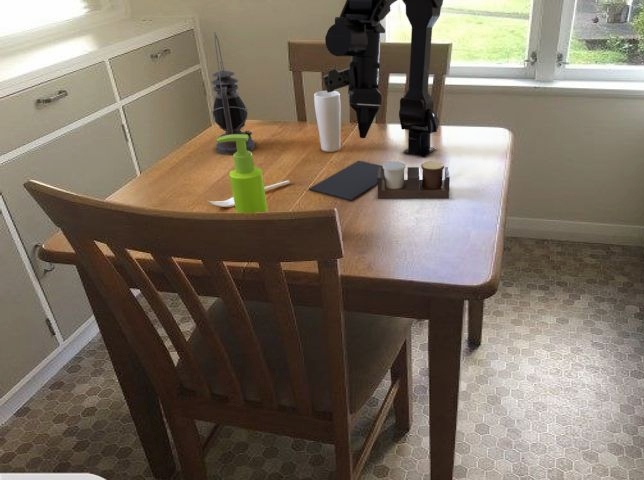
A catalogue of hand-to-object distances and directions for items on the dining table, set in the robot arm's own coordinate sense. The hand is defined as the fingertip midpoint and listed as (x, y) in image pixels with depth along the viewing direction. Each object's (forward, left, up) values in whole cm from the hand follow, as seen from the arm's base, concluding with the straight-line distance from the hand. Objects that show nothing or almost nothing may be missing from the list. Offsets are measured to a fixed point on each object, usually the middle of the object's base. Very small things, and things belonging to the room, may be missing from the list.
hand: (361, 133), depth 114 cm
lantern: (-6, -48, -14) cm, 50 cm away
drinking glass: (-18, -24, -14) cm, 33 cm away
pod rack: (-5, +10, -13) cm, 17 cm away
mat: (-4, -6, -13) cm, 15 cm away
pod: (-7, +14, -11) cm, 19 cm away
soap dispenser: (+28, -8, -14) cm, 32 cm away
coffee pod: (-3, +6, -11) cm, 13 cm away
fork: (+15, -21, -14) cm, 29 cm away
